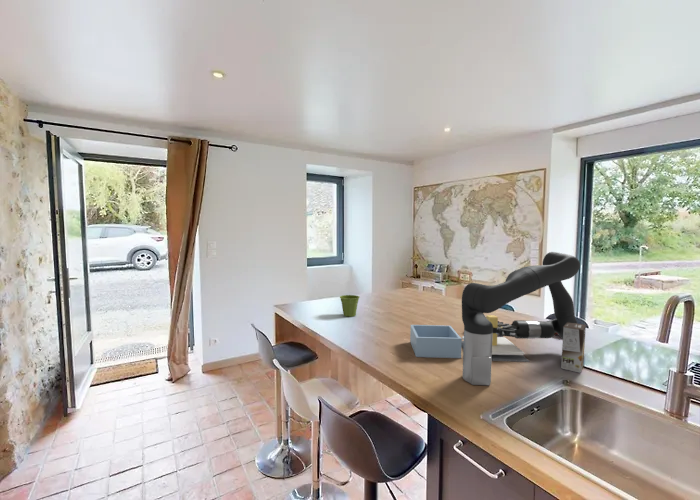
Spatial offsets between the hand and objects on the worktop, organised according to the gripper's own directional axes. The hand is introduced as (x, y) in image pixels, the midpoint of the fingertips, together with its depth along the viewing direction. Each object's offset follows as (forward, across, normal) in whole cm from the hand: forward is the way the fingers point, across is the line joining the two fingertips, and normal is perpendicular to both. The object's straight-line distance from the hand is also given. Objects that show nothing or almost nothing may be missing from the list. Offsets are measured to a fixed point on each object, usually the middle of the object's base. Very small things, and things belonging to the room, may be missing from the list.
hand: (484, 328), depth 144 cm
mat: (-3, 0, +10) cm, 10 cm away
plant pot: (+60, -53, +9) cm, 81 cm away
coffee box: (-28, +15, +10) cm, 33 cm away
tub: (+21, 0, +9) cm, 23 cm away
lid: (-3, 0, +8) cm, 8 cm away
